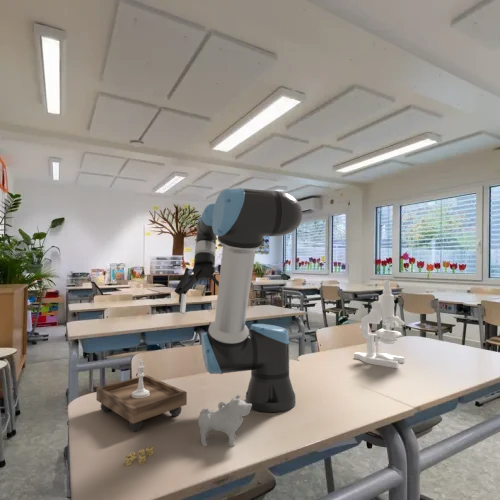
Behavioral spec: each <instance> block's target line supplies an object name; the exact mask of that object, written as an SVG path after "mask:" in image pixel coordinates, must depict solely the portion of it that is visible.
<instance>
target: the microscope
mask: <svg viewBox="0 0 500 500" xmlns="http://www.w3.org/2000/svg"><path fill="white" fill-rule="evenodd" d="M383 281H384V282H383V289H382V294H380V295H378V300H375V301H372V303H371V310H370V312H368V314H366V315H365V316H363V317H362V318H361V321H360V325H359V327H358V328H359V329H360V332H361V335H362V337H363V338H364V339H365V340H366V352H359V351H357V352H354V353H353V359H356V360H360V361H361V362H364V363H365V364H370V365H376V366H381V367H388V368H393V369H398V368H399V363H400V364H404V363H405V357H404V356H400V355H394V354H390V353H386V352H382V353H380V352H379V351H380V350H379V349H380V348H379V345H381V344H382V343H383V344H385V345H394V344H395V343H396V342H397V341H398V338H399V337H403V336H404V335H402V332H400V331H397V330H392V329H394V328H395V326H396V327H400V325H402V326H405V324H406V322H405V321H403V319H401V318H400V317H399V316H398V315H396V316H395V295H394V294H392V292H393V291H392V289H391V282H390V281H391V280H390V279H384V280H383ZM383 317H384V324H385V327H386V328H385V329H384V328H383V327H382V328H380V329H377V330H376V331H374V333H371V332H370V324H373V325H380V324H381V323H380V322H381V321H383ZM390 328H391V330H390Z"/></svg>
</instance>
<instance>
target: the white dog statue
mask: <svg viewBox="0 0 500 500" xmlns="http://www.w3.org/2000/svg"><path fill="white" fill-rule="evenodd" d="M240 397H242V396H241V394H237V395H235V397H234V398H231V399H230V401H229V402H228V403H227V402H226V401H223V400H222V401H219V403H218V404H217V408H218V410H211V409H209V408H202V409H201V410H200V412H199V416H198V419H197V422H198V423H197V424H198V427H199V429H200V431H199V434H200V439H201V440H200V441H201V446H203V447H207V446H208V445H209V443H208V442H207V439H208V438H210V437H211V435H210V433H209V432H211V431H219V432H224V433H225V434H227V436H228V442H229V447H230V448H234V447H236V443H235V439H237V435H236V431H237V430H238V429H239V428H240V427H241V426H242V423H243V421H244V418H243V417H245V416H248V415H249V414H250V412H251V410H252V409H251V406H252V404H248V403H246V400H243V399H240Z"/></svg>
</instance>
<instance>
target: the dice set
mask: <svg viewBox="0 0 500 500" xmlns="http://www.w3.org/2000/svg"><path fill="white" fill-rule="evenodd" d="M137 452H138V453H137V454H138V464H140V465H143V464H145V463H146V459H147V458H146V457H151V456H152V455H153V454H154V447H153V446H152V445H149V446H147V447H146V448H145V449H139V450H138V451H137ZM137 454H136V453H135V452H134V451H133V452H130V453H129V455H126V456H125V458H124V460H125V461H124V463H125V464H124V465H126V466H131V465H132V464H133V461H135V460H137Z"/></svg>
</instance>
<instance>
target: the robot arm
mask: <svg viewBox="0 0 500 500" xmlns="http://www.w3.org/2000/svg"><path fill="white" fill-rule="evenodd" d="M302 220H303V209H302V206H301V204H300V203H299V201H298V200H297V199H296V197H294V196H292V195H291V194H289V193H286V192H284V191H279V190H267V189H266V190H264V189H254V188H253V189H252V188H242V187H238V188H225V189H223V190H221V191H220V193H219V194H218V196H217V197H216V200H215V203H210V204H208V205H206V207H205V208H204V210H203V212H202V214H201V216H200V217H199V218H198V219H197V225H196V239H195V240H196V241H195V247H194V248H195V250H194V259H193V268H189V267H185V269H184V273H183V275H182V276H181V278H180V280H179V282H178V284H177V286H176V287H175V289H174V292H175V294H177V295H178V303H179V305H180V306H179V312H180V313H181V314H182V315H186V306H187V299H188V298H187V296H188V295H186V294H187V293H188V292H189V290H191V288H192V287H193V286H194V285H195V284H196V283H197V282H198V281H203V280H205V281H208V280H209V279H211V280H212V281H213V282H214V283H215V285H216V286H217V288H218V289H217V299H216V306H215V307H216V308H215V317H214V321H213V322H212V323H210V325H209V326H208V332H203V333H202V334H201V337H200V338H201V340H200V341H201V350H202V356H203V362H204V367H205V369H206V372H208V373H209V374H210V375H223V374H230V373H239V372H246V371H250V372H251V373H250V380H249V383H248V387H247V391H246V393H245V402H246V403H248V404H252V406H251V410H254V411H258V412H262V413H280V412H281V413H282V412H285V411H288V410H292V409H293V408H294V407H295V406H296V394H295V392H294V387H293V385H292V381H291V377H290V343H291V342H290V340H289V339H290V337H289V332H288V330H287V329H286V328H284V327H281V326H278V325H273V324H267V323H266V324H265V323H252V324H251V325H250V329H249V328H248V326H247V325H246V320H247V312H248V305H249V298H250V292H251V283H252V277H253V272H254V271H253V270H254V265H255V264H254V263H255V257H256V251H257V250H258V249H260V248H261V247H262V246H263V242H264V241H263V240H264V237H281V236H286V235H290V234H291V233H293V232H295V231H296V230H297V229H298V227H299V226H300V225H301V223H302ZM217 241H218V243H219V244H220V245H221V246H222V250H221V251H222V252H221V261H220V264H218V265H217V266H215V264H216V250H217V249H216V244H217ZM215 272H217V273H218V274H219V279H217V278H216V277H215V275H214V273H215Z"/></svg>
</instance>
